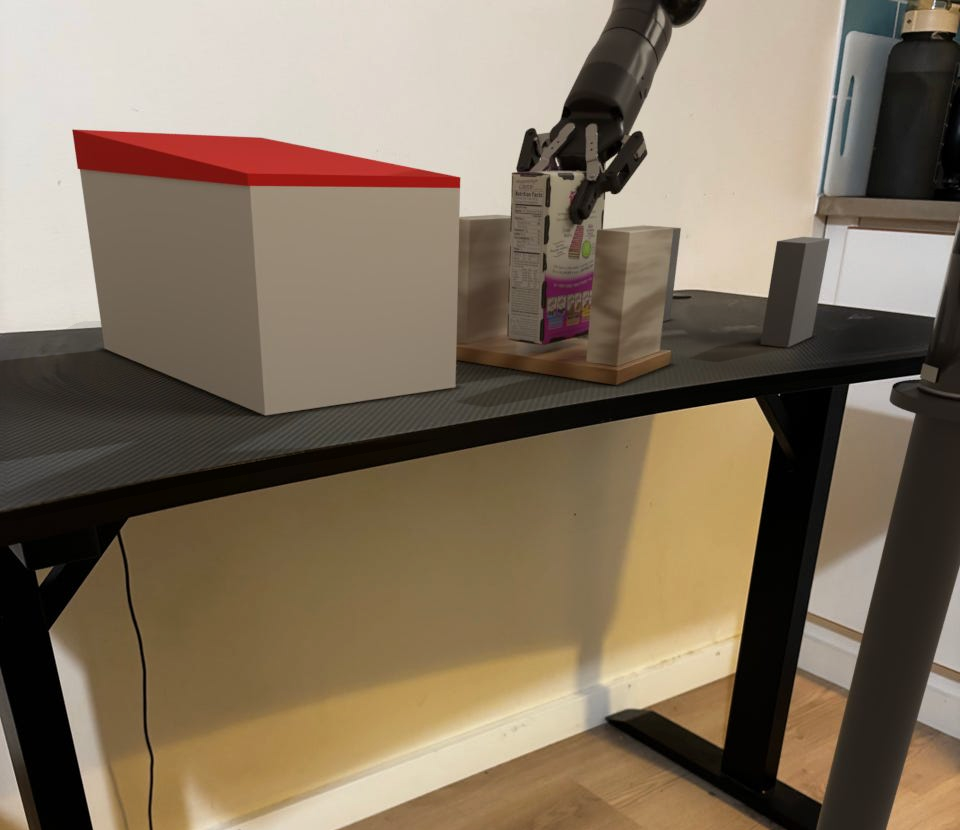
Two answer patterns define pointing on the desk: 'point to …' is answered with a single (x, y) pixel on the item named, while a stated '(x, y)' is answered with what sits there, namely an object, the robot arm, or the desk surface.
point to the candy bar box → (550, 258)
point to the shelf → (613, 316)
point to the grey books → (780, 288)
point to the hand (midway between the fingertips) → (549, 216)
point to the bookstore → (272, 267)
